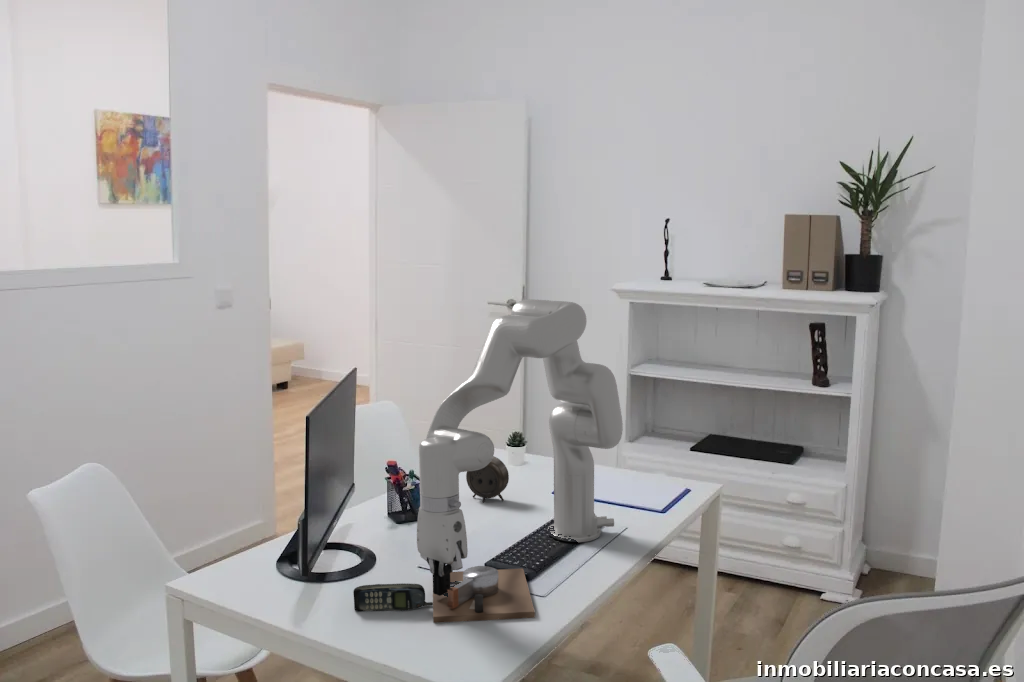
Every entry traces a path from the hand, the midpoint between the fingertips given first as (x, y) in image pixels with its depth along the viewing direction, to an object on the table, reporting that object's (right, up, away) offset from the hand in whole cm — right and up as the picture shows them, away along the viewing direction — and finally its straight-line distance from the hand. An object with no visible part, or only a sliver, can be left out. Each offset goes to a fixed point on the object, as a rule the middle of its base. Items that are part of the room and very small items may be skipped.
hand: (441, 592), depth 173 cm
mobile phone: (-9, -3, -2) cm, 10 cm away
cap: (+6, -1, 0) cm, 6 cm away
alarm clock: (+7, +6, +64) cm, 64 cm away
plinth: (+8, -2, +3) cm, 8 cm away
